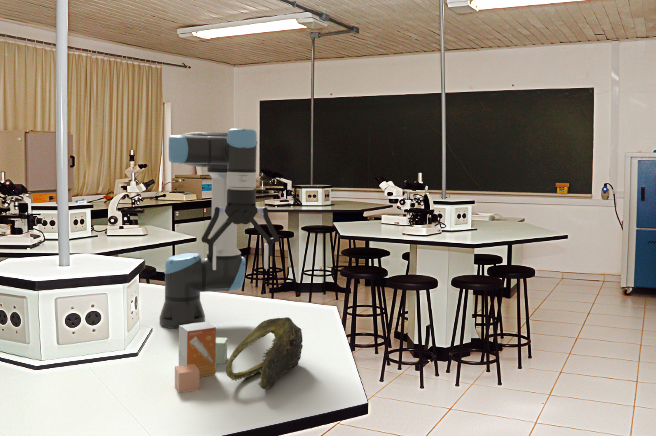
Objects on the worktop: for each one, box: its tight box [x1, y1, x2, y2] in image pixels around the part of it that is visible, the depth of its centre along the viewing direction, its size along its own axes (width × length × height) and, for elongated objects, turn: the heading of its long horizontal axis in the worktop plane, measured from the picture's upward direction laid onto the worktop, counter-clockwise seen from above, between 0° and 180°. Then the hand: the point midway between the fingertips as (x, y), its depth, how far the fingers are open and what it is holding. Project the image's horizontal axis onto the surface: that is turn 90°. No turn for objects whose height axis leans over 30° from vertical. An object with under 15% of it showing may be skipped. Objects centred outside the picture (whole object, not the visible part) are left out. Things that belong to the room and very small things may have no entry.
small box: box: [178, 321, 217, 378], centre depth 160 cm, size 8×6×13 cm
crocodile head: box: [225, 317, 304, 390], centre depth 160 cm, size 27×17×15 cm
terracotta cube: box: [174, 364, 200, 393], centre depth 151 cm, size 5×5×5 cm
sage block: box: [215, 336, 228, 365], centre depth 170 cm, size 5×5×6 cm
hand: (240, 268), depth 160 cm, fingers open, 13 cm apart
